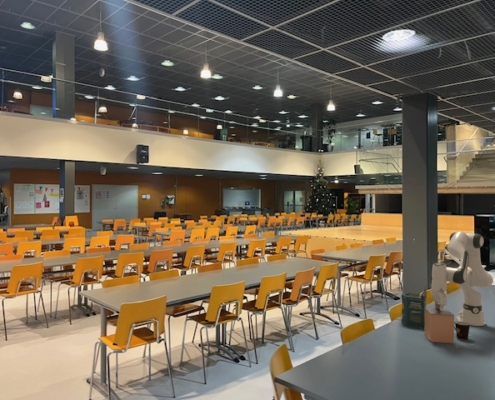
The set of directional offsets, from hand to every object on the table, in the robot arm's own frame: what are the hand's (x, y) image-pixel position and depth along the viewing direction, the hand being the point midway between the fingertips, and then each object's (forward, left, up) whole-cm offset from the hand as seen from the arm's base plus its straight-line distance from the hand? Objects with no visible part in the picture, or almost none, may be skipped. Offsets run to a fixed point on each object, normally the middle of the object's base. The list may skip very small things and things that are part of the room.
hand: (438, 308), depth 251 cm
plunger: (0, 0, -15) cm, 15 cm away
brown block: (0, 0, -20) cm, 20 cm away
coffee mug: (-6, +16, -20) cm, 26 cm away
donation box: (-32, -8, -20) cm, 39 cm away
